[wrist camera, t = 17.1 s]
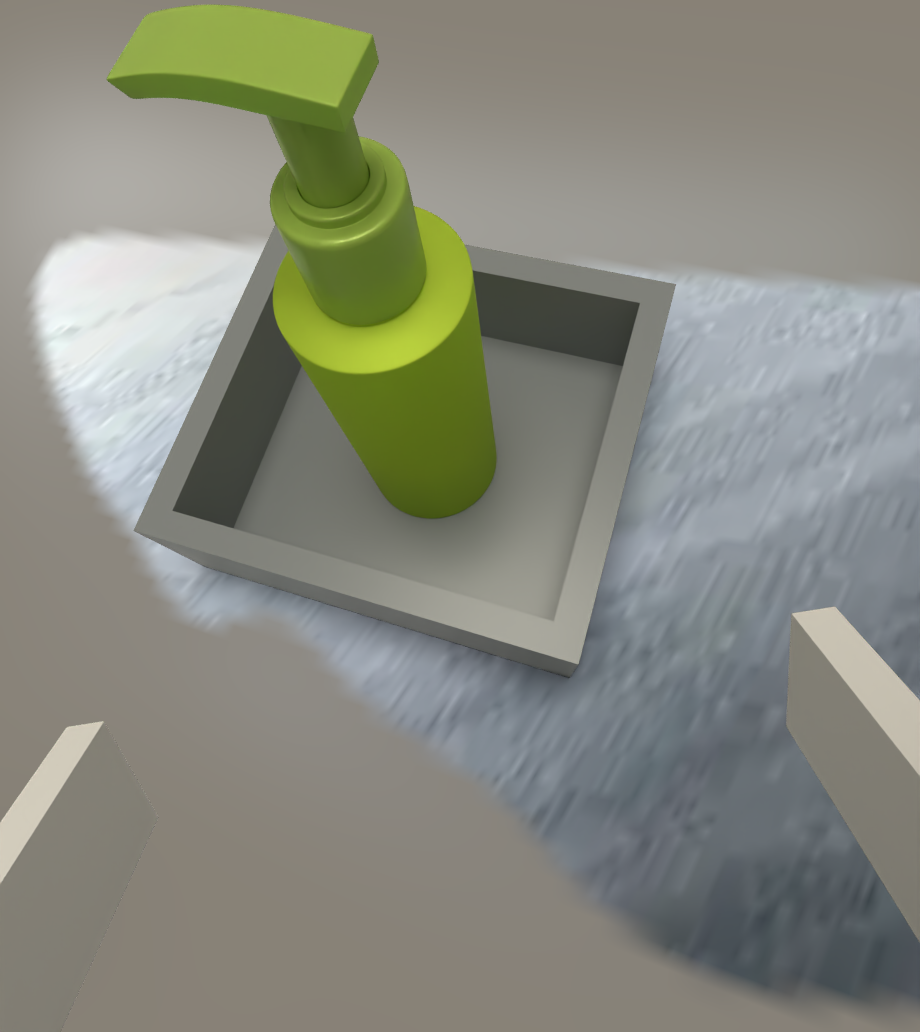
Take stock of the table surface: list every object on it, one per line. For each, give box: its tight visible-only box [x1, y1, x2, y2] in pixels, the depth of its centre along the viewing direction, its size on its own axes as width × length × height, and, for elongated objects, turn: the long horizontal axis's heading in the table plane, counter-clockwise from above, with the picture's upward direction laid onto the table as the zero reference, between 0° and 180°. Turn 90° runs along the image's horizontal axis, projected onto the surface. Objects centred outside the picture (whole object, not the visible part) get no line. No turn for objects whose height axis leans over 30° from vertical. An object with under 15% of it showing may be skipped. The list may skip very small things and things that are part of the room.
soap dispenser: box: [107, 5, 497, 518], centre depth 22 cm, size 6×7×20 cm
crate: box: [134, 224, 676, 678], centre depth 30 cm, size 18×16×6 cm
